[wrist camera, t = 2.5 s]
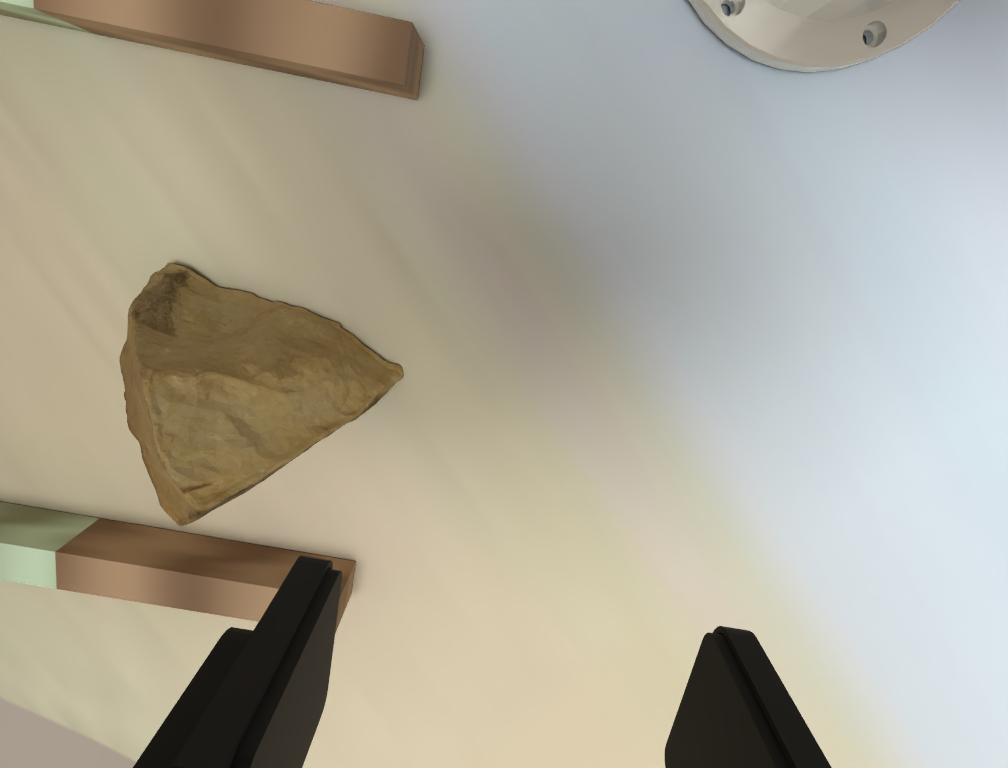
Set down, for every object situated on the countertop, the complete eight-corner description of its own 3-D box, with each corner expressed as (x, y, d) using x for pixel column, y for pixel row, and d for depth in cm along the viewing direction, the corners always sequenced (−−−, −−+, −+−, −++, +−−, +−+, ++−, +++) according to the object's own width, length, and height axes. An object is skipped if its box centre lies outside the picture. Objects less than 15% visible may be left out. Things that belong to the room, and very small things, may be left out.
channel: (424, 45, 23) (412, 22, 20) (351, 593, 30) (334, 633, 28) (-314, -110, 22) (-439, -158, 19) (-203, 502, 29) (-281, 534, 26)
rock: (49, 320, 24) (182, 521, 25) (-18, 247, 17) (176, 537, 18) (287, 228, 29) (389, 398, 30) (319, 140, 22) (452, 371, 23)
